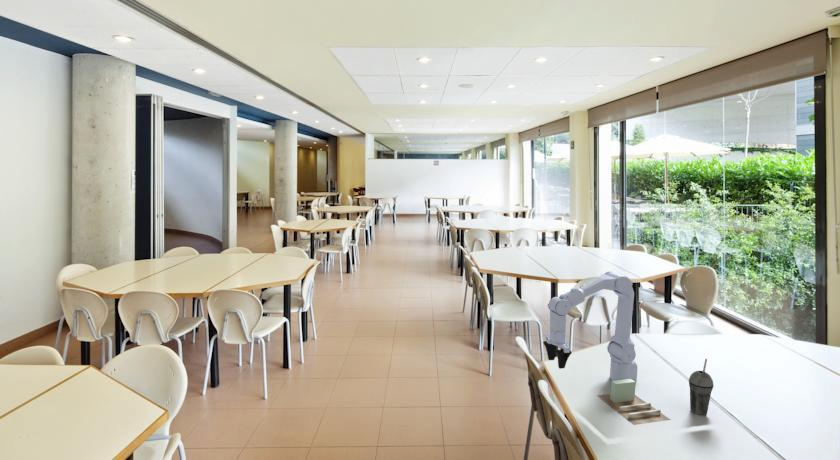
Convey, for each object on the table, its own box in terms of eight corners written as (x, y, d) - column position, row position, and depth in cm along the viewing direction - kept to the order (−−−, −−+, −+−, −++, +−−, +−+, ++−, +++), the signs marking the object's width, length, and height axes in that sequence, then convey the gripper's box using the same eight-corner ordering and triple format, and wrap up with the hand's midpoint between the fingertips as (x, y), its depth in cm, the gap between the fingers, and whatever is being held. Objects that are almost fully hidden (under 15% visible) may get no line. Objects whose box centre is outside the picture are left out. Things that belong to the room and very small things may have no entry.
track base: (629, 394, 170) (630, 387, 169) (670, 422, 150) (670, 415, 150) (596, 398, 167) (596, 391, 166) (633, 428, 147) (634, 420, 147)
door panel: (629, 397, 165) (630, 378, 164) (634, 400, 163) (635, 381, 162) (610, 399, 163) (611, 380, 163) (614, 402, 161) (615, 384, 160)
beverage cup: (681, 410, 158) (685, 355, 156) (700, 409, 159) (705, 354, 157) (695, 421, 151) (700, 364, 149) (716, 420, 152) (721, 363, 149)
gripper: (538, 323, 177) (537, 357, 179) (558, 336, 163) (556, 372, 165) (555, 322, 179) (553, 355, 180) (575, 335, 165) (574, 371, 166)
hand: (556, 363), depth 173 cm, fingers open, 7 cm apart
